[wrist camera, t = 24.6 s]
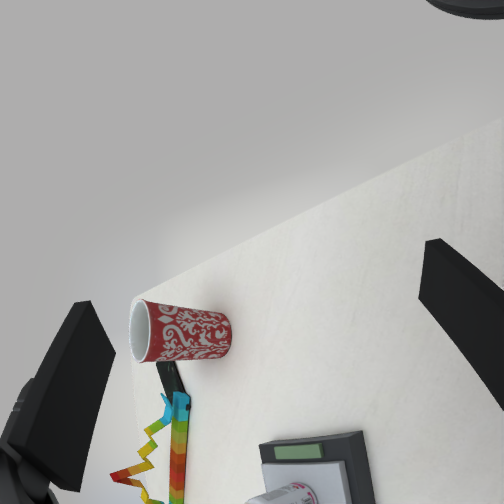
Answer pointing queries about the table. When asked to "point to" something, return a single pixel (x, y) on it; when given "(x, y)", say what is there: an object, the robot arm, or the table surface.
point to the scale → (321, 467)
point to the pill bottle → (286, 495)
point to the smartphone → (170, 380)
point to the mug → (176, 333)
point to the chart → (176, 451)
